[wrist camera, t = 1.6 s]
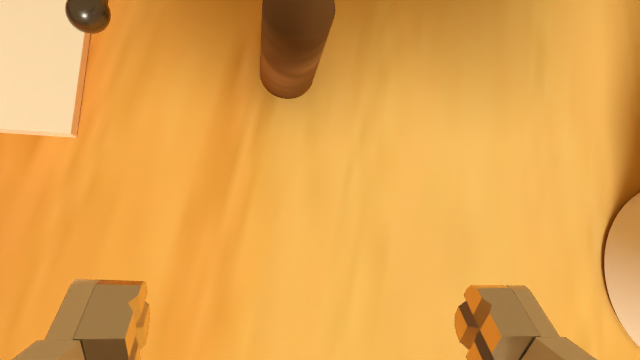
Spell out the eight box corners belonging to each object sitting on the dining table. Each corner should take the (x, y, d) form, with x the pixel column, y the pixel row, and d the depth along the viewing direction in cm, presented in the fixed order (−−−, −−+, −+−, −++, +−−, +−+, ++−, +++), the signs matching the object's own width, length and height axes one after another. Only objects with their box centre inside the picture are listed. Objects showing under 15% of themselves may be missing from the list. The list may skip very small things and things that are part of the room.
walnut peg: (314, 50, 34) (335, -23, 25) (312, 100, 33) (334, 43, 24) (261, 45, 33) (264, -32, 24) (258, 96, 32) (260, 35, 24)
